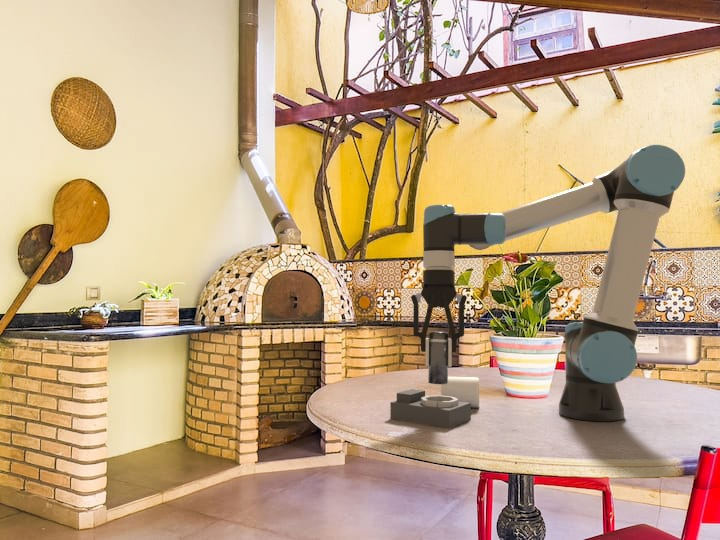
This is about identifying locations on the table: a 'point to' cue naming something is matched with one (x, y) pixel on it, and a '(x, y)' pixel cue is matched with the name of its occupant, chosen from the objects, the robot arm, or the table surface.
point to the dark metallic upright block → (438, 358)
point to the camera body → (429, 409)
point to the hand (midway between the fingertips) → (438, 365)
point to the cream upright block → (462, 389)
